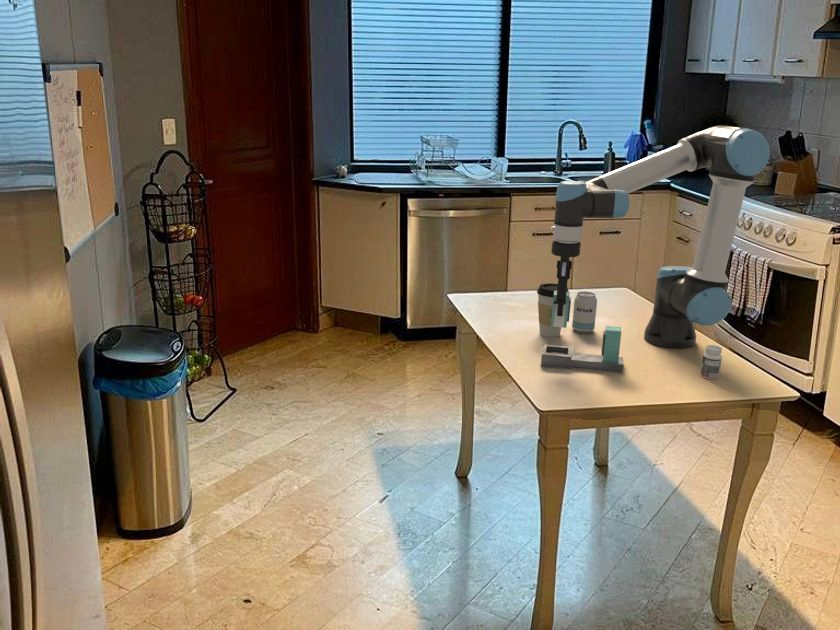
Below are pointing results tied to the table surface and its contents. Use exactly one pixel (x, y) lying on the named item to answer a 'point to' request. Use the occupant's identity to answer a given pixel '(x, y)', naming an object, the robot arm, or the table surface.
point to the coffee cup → (547, 309)
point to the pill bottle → (711, 362)
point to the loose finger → (567, 309)
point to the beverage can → (584, 312)
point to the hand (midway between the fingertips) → (558, 323)
